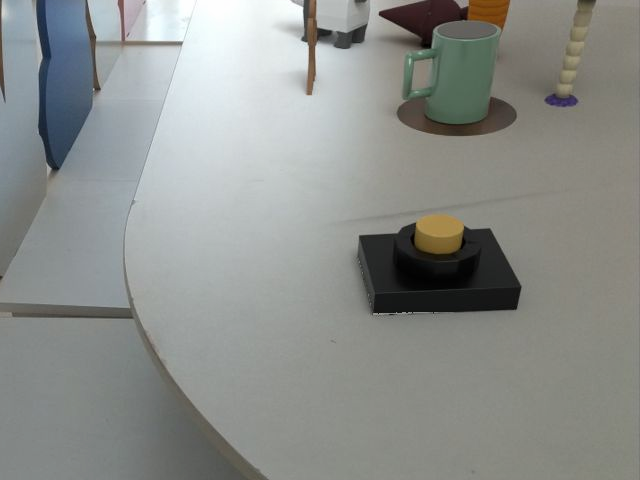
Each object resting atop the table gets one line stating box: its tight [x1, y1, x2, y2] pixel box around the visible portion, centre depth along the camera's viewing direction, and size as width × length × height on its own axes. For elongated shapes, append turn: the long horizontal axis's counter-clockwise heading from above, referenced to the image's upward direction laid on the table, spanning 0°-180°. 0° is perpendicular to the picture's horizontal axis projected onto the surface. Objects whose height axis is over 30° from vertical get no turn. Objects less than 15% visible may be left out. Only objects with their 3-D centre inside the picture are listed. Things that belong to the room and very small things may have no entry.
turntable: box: [396, 96, 518, 137], centre depth 89 cm, size 13×13×1 cm
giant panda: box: [290, 0, 371, 49], centre depth 115 cm, size 15×6×10 cm, turn 43°
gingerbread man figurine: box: [306, 0, 318, 96], centre depth 97 cm, size 9×4×12 cm, turn 167°
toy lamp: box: [543, 0, 597, 108], centre depth 84 cm, size 5×5×17 cm
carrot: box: [467, 0, 511, 35], centre depth 97 cm, size 5×5×15 cm
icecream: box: [378, 0, 469, 47], centre depth 109 cm, size 7×7×15 cm
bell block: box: [357, 221, 523, 314], centre depth 64 cm, size 11×9×4 cm
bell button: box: [414, 213, 465, 254], centre depth 62 cm, size 4×4×2 cm
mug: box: [400, 20, 502, 125], centre depth 86 cm, size 10×7×9 cm
